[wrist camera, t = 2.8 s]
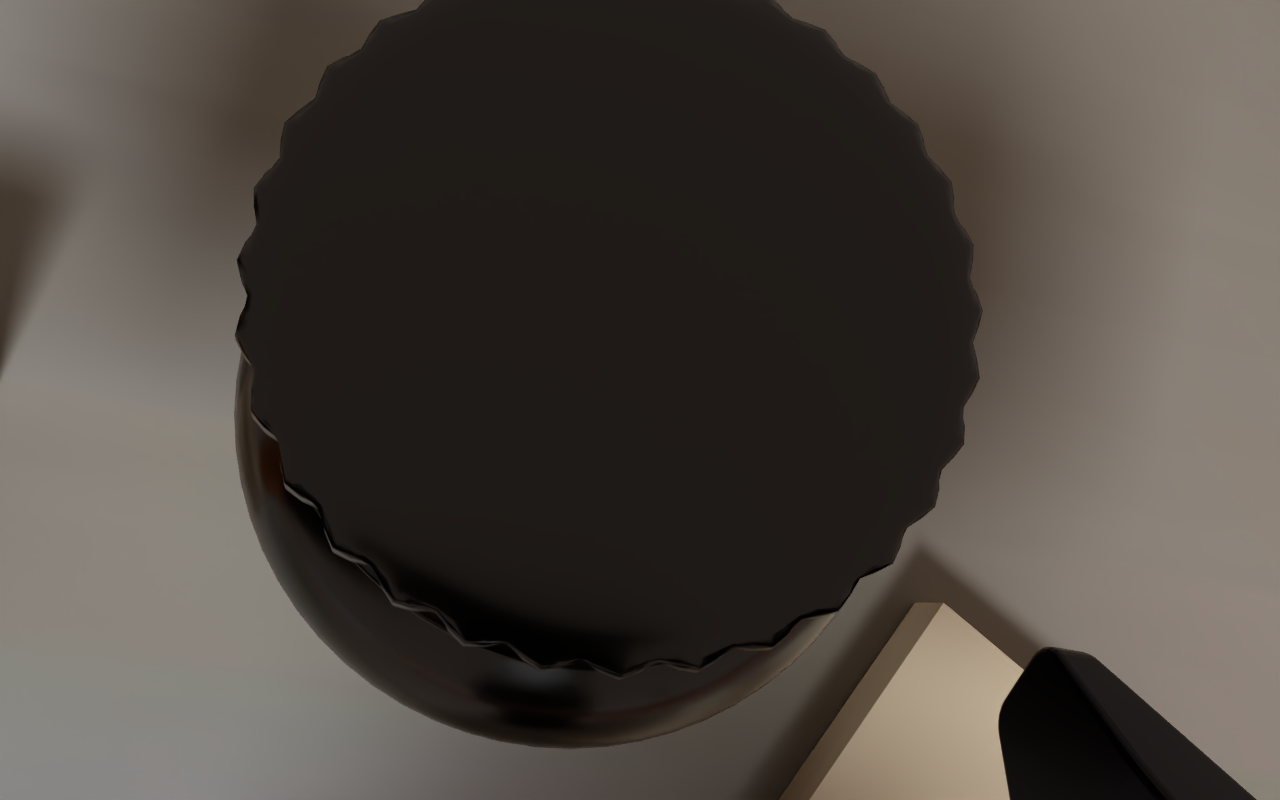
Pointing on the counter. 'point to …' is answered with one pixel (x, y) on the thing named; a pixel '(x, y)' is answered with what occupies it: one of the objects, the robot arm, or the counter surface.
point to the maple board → (918, 719)
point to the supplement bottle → (595, 357)
